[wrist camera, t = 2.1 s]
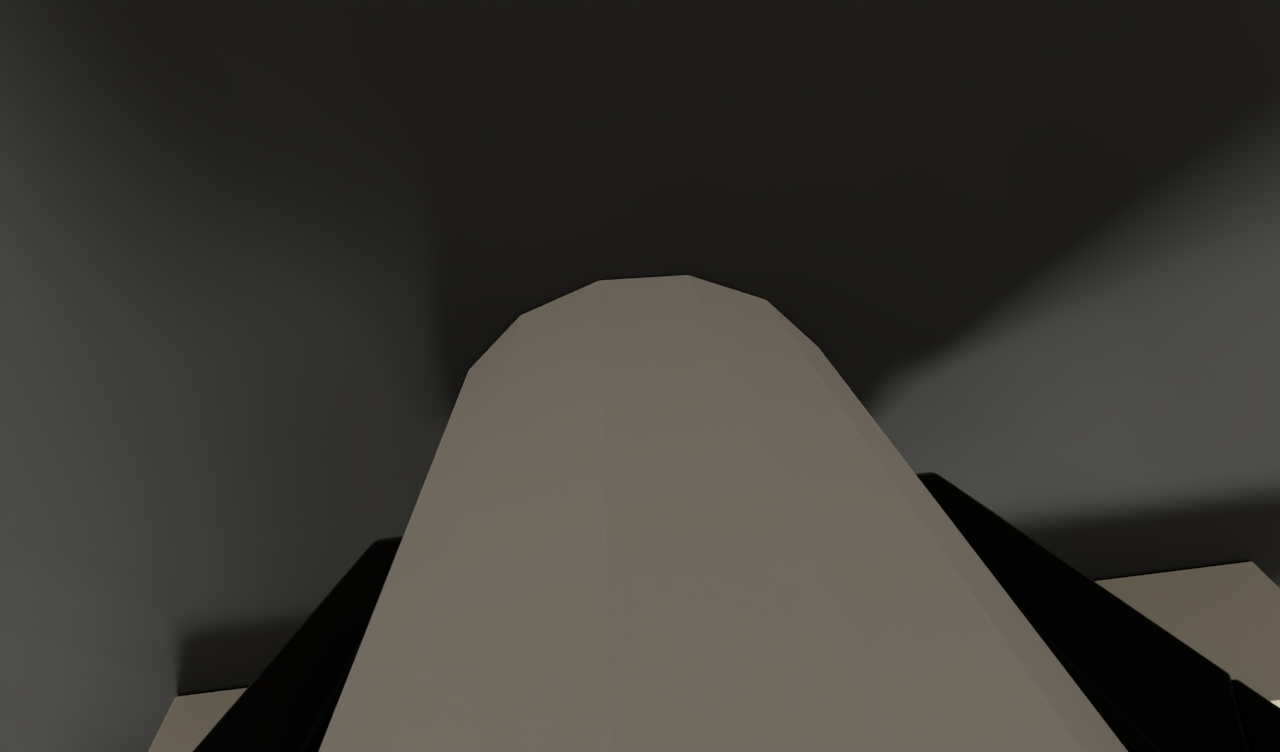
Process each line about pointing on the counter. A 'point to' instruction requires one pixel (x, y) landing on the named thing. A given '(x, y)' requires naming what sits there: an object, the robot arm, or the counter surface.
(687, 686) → the white and grey cylinder
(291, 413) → the counter surface
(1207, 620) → the holder
